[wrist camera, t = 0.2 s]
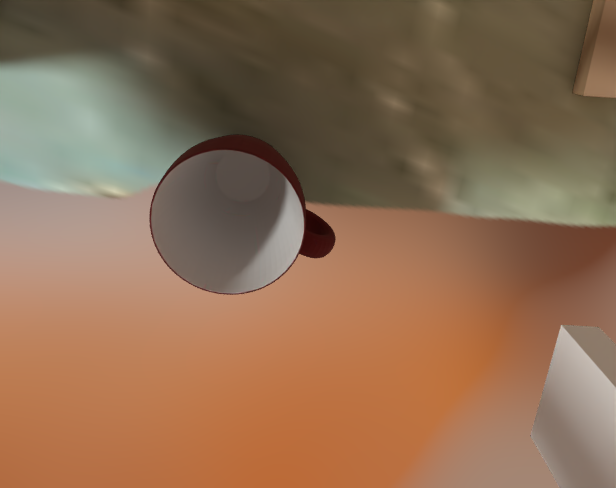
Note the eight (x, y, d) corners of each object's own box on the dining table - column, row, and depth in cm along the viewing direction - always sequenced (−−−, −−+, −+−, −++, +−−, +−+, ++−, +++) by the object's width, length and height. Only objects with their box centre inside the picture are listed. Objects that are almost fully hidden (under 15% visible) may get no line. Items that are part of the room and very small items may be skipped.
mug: (355, 153, 38) (375, 197, 29) (311, 257, 41) (317, 328, 32) (203, 95, 36) (173, 123, 27) (168, 207, 39) (130, 267, 30)
